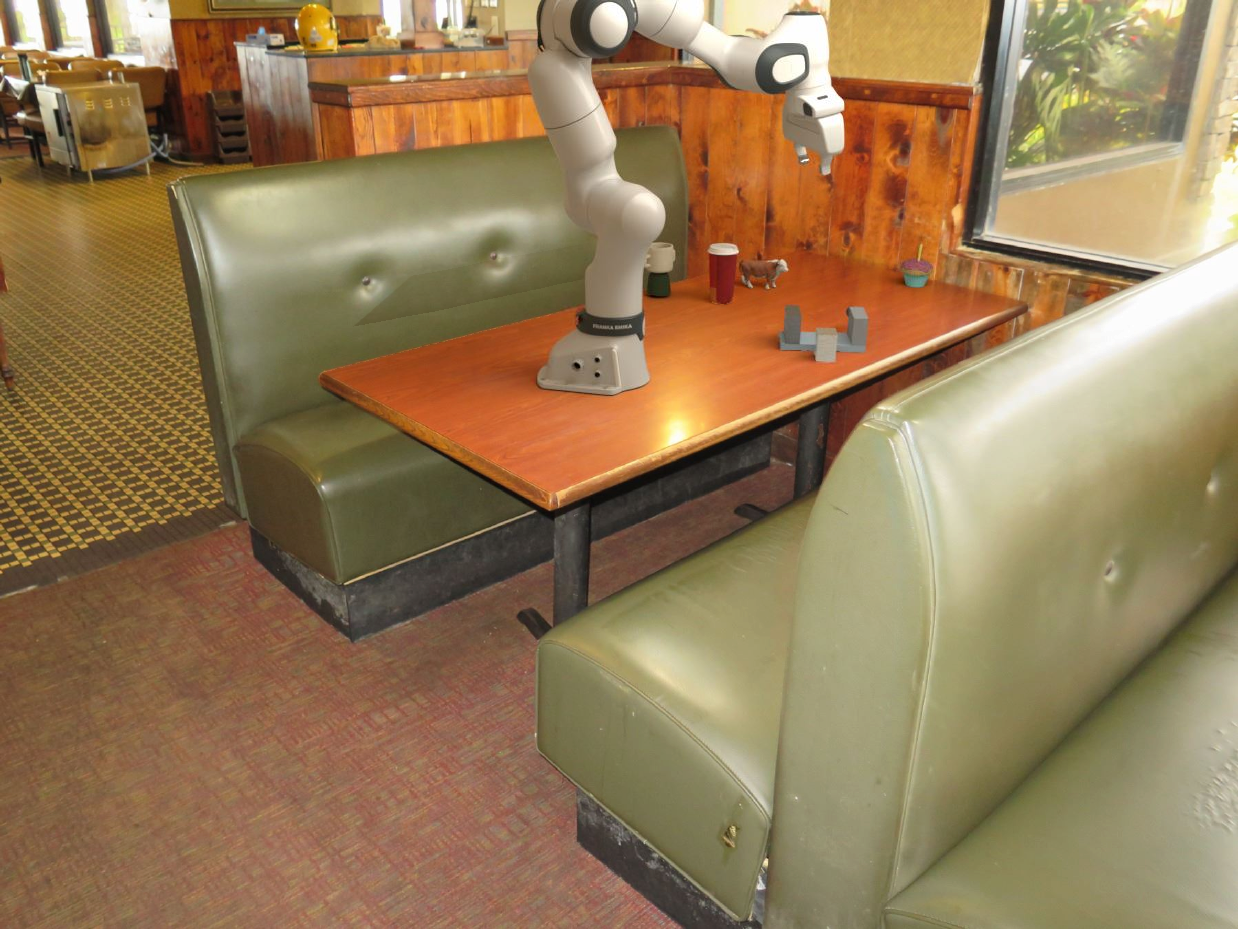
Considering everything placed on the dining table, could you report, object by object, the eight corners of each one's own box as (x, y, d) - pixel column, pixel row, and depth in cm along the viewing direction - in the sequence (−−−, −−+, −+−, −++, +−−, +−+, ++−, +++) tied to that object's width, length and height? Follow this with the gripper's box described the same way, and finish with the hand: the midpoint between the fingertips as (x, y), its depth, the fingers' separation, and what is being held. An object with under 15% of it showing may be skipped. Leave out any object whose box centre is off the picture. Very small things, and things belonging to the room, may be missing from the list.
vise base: (780, 350, 216) (782, 316, 213) (776, 327, 232) (778, 295, 228) (865, 352, 215) (868, 318, 212) (855, 329, 230) (859, 297, 227)
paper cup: (741, 300, 253) (744, 244, 247) (728, 307, 247) (730, 250, 241) (714, 295, 257) (716, 241, 251) (700, 302, 251) (701, 247, 245)
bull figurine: (785, 292, 259) (787, 261, 256) (736, 287, 264) (737, 256, 261) (790, 288, 263) (792, 257, 259) (741, 283, 268) (743, 253, 264)
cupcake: (934, 289, 261) (940, 243, 256) (902, 289, 261) (907, 243, 256) (926, 281, 269) (931, 236, 264) (894, 281, 269) (899, 236, 264)
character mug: (664, 289, 263) (665, 239, 257) (683, 294, 258) (684, 244, 252) (633, 296, 256) (633, 246, 251) (652, 302, 251) (652, 250, 246)
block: (815, 362, 209) (818, 334, 207) (813, 354, 214) (816, 327, 211) (835, 362, 209) (837, 335, 207) (832, 355, 214) (835, 327, 211)
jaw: (785, 343, 216) (787, 316, 213) (783, 330, 224) (785, 304, 221) (799, 343, 215) (801, 316, 213) (797, 331, 223) (798, 305, 221)
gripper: (771, 94, 204) (777, 161, 211) (818, 111, 187) (823, 183, 194) (799, 86, 205) (804, 154, 212) (848, 103, 188) (852, 175, 195)
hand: (814, 168), depth 203 cm, fingers open, 8 cm apart
